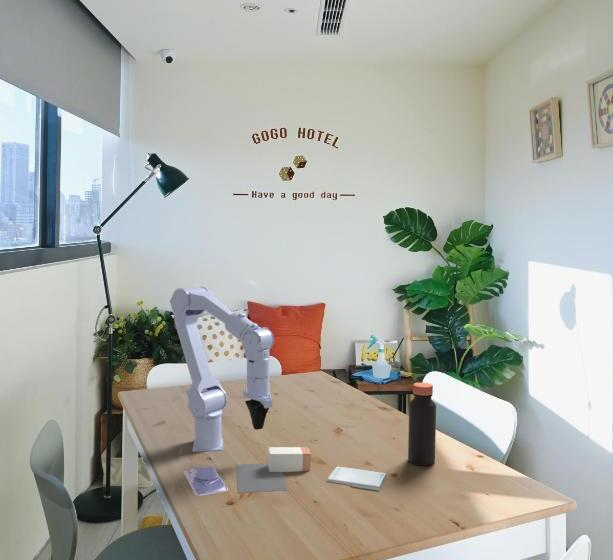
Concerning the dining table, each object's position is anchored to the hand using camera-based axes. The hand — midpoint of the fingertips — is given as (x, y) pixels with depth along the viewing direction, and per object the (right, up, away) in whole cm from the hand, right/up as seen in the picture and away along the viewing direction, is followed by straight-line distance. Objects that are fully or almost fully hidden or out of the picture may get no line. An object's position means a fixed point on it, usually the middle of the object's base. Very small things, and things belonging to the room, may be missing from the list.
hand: (258, 428), depth 143 cm
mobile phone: (-11, -10, -12) cm, 19 cm away
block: (+3, -6, -6) cm, 9 cm away
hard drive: (+24, -10, -11) cm, 28 cm away
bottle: (+42, -9, +1) cm, 43 cm away
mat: (+1, -9, -10) cm, 14 cm away
